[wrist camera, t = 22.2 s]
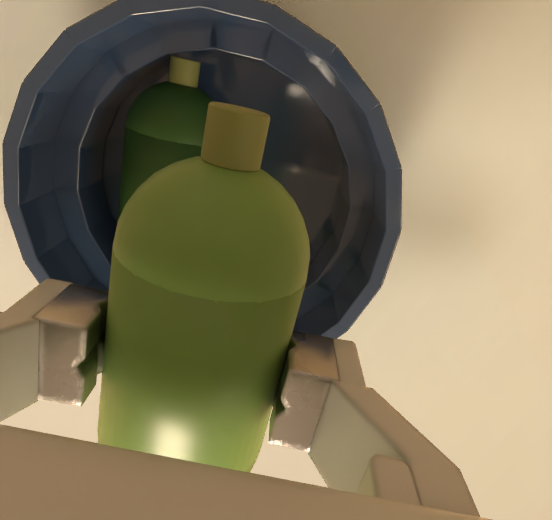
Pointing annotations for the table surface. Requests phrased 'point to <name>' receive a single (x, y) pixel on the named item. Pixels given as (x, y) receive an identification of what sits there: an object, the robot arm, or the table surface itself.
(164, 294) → the pale zucchini
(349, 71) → the bowl
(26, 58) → the table surface
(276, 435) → the robot arm
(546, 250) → the table surface
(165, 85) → the zucchini
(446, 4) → the table surface
